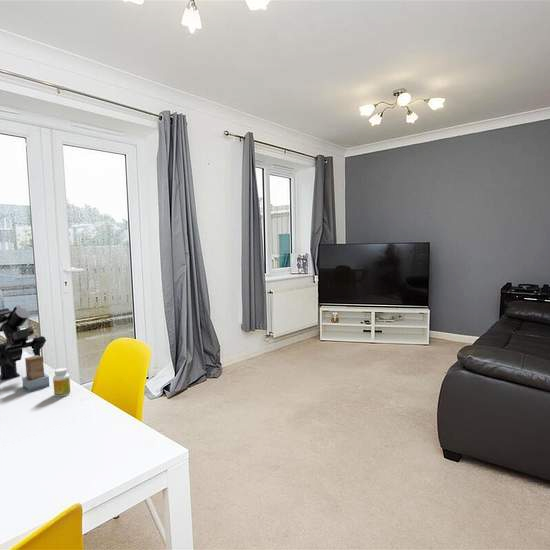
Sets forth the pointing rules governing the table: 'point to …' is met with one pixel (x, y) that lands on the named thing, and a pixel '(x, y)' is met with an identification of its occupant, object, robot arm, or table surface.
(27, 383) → the bin
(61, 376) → the supplement bottle
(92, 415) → the table surface
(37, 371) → the walnut block
